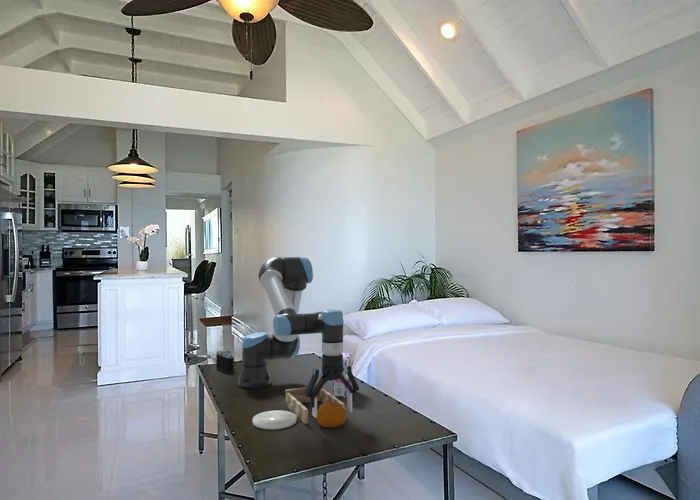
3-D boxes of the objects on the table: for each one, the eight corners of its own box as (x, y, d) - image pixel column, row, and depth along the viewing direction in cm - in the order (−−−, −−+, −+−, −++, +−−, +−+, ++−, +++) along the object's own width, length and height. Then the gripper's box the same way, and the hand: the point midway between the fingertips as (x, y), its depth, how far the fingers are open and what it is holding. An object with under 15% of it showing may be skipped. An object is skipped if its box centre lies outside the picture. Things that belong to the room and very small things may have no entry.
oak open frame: (285, 404, 187) (285, 389, 187) (321, 399, 193) (321, 385, 194) (304, 423, 166) (304, 407, 166) (344, 417, 173) (344, 401, 173)
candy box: (345, 398, 196) (346, 359, 196) (332, 397, 197) (332, 358, 197) (352, 388, 209) (352, 352, 209) (339, 387, 210) (339, 352, 210)
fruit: (343, 432, 158) (343, 409, 158) (313, 430, 160) (313, 407, 160) (348, 421, 169) (348, 399, 169) (320, 419, 170) (320, 398, 170)
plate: (248, 417, 172) (248, 413, 172) (289, 411, 179) (289, 407, 179) (258, 432, 157) (258, 428, 157) (302, 425, 164) (302, 421, 164)
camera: (240, 370, 240) (240, 351, 240) (228, 372, 235) (228, 353, 235) (226, 365, 251) (226, 347, 251) (214, 367, 246) (214, 349, 246)
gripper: (303, 358, 155) (302, 422, 154) (368, 352, 165) (368, 411, 165) (295, 354, 161) (295, 415, 161) (359, 348, 172) (358, 405, 172)
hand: (332, 413), depth 163 cm, fingers open, 13 cm apart
